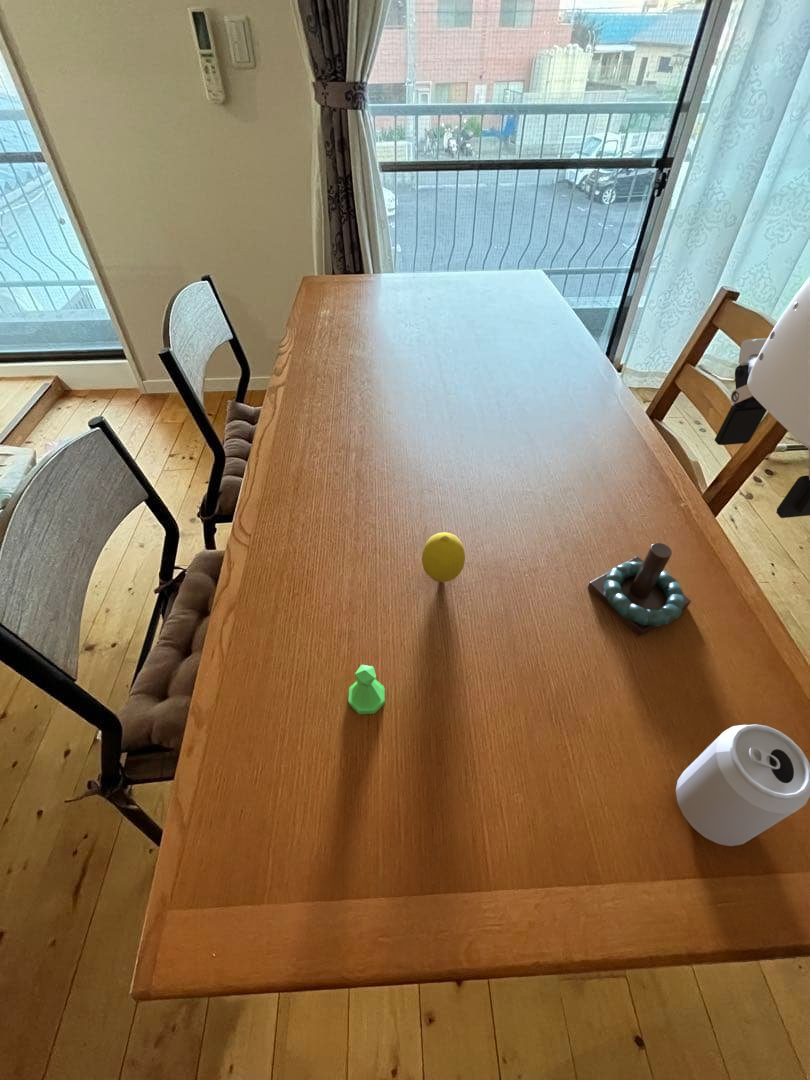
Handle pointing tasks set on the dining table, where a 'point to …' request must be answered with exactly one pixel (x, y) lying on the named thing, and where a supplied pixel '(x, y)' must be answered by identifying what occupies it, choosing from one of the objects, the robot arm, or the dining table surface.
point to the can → (744, 784)
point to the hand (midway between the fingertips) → (760, 475)
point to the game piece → (366, 691)
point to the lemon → (443, 557)
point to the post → (641, 586)
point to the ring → (636, 612)
